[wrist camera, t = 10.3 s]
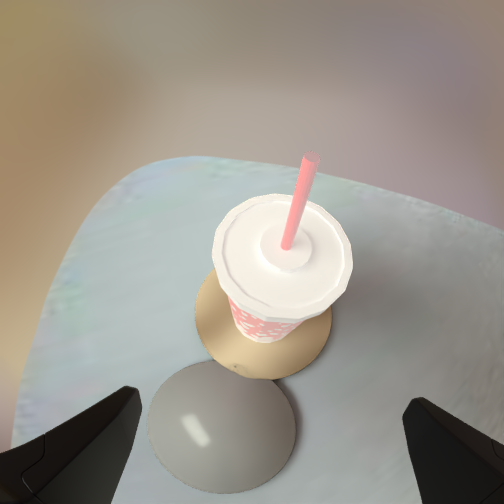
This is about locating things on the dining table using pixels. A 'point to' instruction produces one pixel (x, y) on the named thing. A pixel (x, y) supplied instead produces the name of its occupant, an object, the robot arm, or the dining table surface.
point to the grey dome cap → (220, 428)
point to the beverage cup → (281, 259)
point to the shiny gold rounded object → (248, 351)
